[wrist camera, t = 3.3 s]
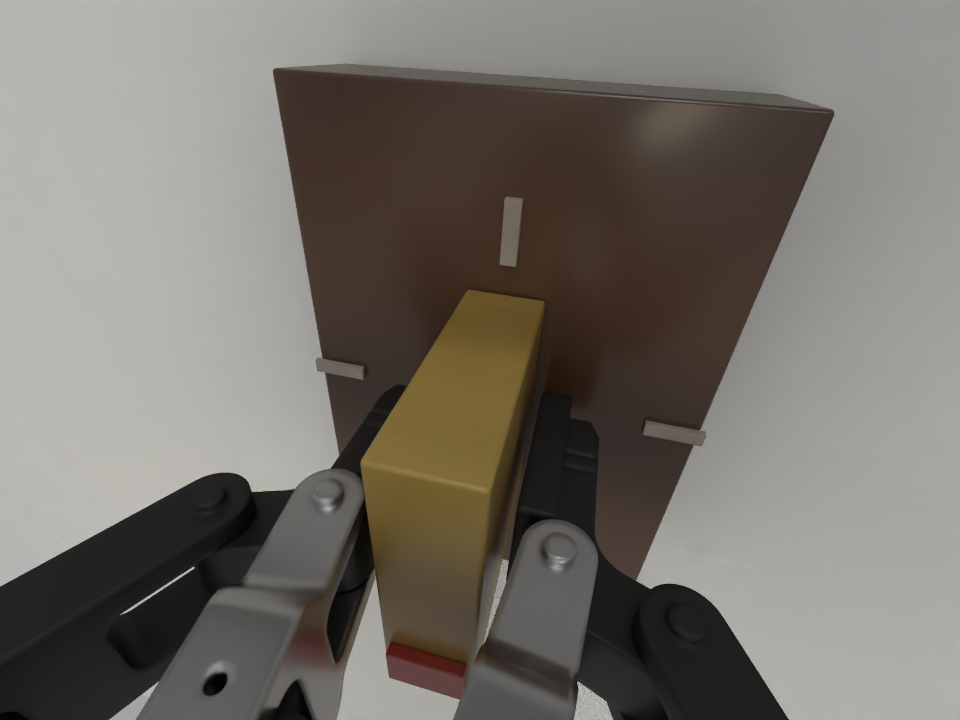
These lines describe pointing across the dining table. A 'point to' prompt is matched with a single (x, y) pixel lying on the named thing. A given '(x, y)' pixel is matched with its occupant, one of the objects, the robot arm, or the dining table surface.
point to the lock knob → (451, 488)
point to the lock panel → (547, 244)
